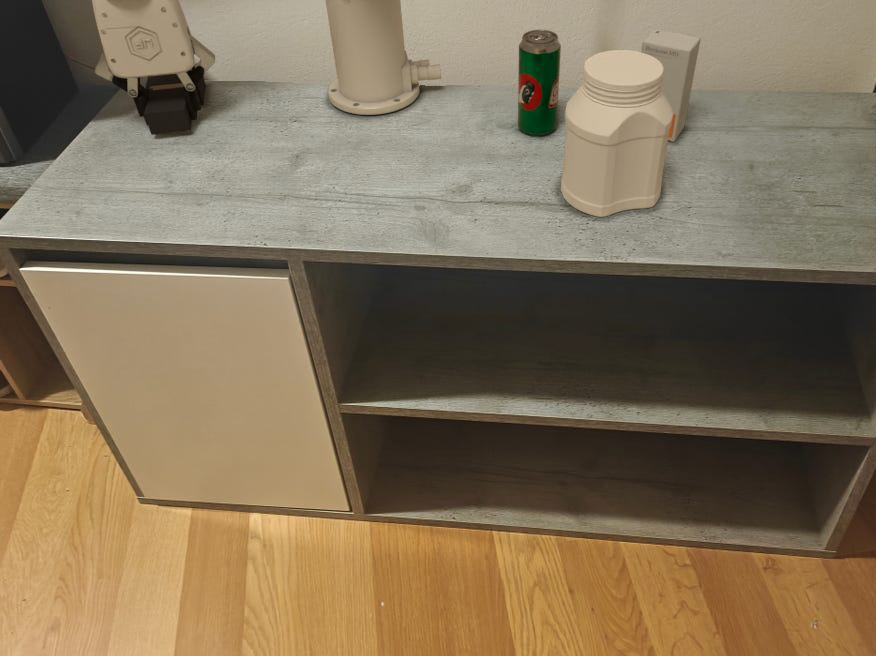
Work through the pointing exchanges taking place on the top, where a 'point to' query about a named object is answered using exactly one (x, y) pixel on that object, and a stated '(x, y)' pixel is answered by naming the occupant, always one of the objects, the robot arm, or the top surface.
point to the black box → (167, 110)
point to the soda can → (538, 82)
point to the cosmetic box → (674, 71)
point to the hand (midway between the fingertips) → (172, 116)
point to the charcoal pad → (174, 84)
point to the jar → (616, 134)
